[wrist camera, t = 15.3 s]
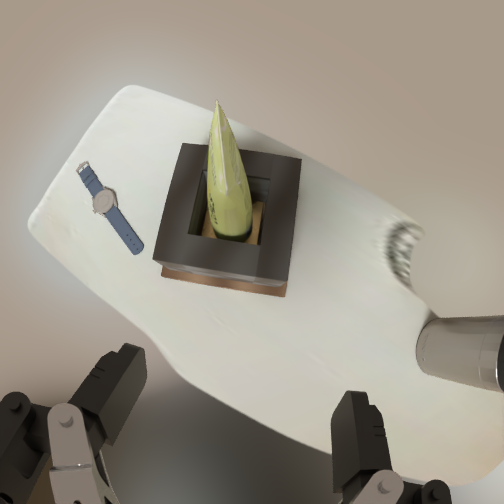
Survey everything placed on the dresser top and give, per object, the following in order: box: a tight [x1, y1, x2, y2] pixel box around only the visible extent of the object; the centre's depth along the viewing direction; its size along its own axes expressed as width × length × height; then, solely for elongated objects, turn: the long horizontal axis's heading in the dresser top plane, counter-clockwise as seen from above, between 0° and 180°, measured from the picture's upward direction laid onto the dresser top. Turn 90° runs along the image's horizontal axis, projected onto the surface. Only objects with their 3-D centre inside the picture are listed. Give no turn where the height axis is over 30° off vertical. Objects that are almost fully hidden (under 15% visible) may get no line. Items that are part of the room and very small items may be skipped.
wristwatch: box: [76, 161, 144, 255], centre depth 39 cm, size 4×20×1 cm, turn 42°
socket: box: [153, 143, 302, 297], centre depth 35 cm, size 16×16×9 cm
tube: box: [207, 100, 253, 243], centre depth 27 cm, size 6×5×20 cm
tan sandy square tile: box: [202, 200, 263, 245], centre depth 37 cm, size 7×7×1 cm
